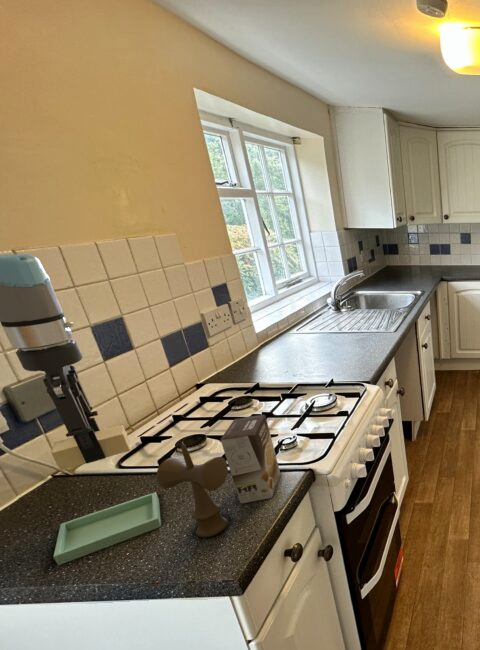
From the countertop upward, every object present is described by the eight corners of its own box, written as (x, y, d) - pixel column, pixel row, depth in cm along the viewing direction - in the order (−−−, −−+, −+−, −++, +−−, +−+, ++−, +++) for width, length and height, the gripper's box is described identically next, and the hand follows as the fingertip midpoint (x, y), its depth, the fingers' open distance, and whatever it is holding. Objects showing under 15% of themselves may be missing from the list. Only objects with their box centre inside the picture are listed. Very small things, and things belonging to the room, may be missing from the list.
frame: (58, 565, 73) (53, 556, 72) (65, 532, 80) (60, 523, 79) (161, 526, 81) (157, 518, 81) (158, 499, 89) (155, 491, 88)
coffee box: (273, 498, 89) (255, 435, 83) (239, 504, 87) (219, 440, 81) (281, 473, 97) (265, 414, 91) (251, 478, 95) (232, 418, 89)
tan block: (60, 470, 77) (51, 453, 76) (63, 459, 81) (54, 441, 79) (130, 450, 84) (122, 433, 82) (129, 440, 87) (122, 424, 85)
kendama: (227, 542, 78) (196, 453, 70) (177, 541, 78) (141, 452, 70) (246, 519, 83) (220, 435, 76) (200, 518, 84) (169, 434, 76)
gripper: (70, 352, 69) (121, 466, 78) (78, 329, 82) (121, 429, 91) (3, 363, 65) (65, 483, 74) (23, 336, 77) (74, 442, 86)
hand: (96, 453), depth 82 cm, fingers closed on tan block, 5 cm apart
